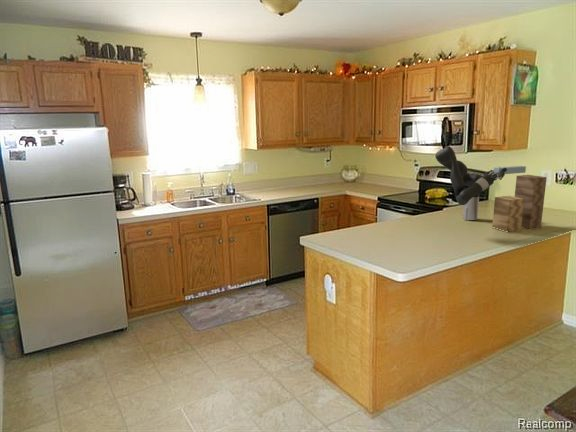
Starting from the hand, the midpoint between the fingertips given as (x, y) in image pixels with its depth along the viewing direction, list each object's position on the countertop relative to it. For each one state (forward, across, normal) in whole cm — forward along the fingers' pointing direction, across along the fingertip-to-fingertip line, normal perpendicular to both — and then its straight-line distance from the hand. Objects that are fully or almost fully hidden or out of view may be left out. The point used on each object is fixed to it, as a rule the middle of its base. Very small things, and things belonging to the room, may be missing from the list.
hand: (503, 168), depth 266 cm
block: (-13, 0, +39) cm, 41 cm away
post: (+1, 0, +48) cm, 48 cm away
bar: (+3, 0, +6) cm, 7 cm away
